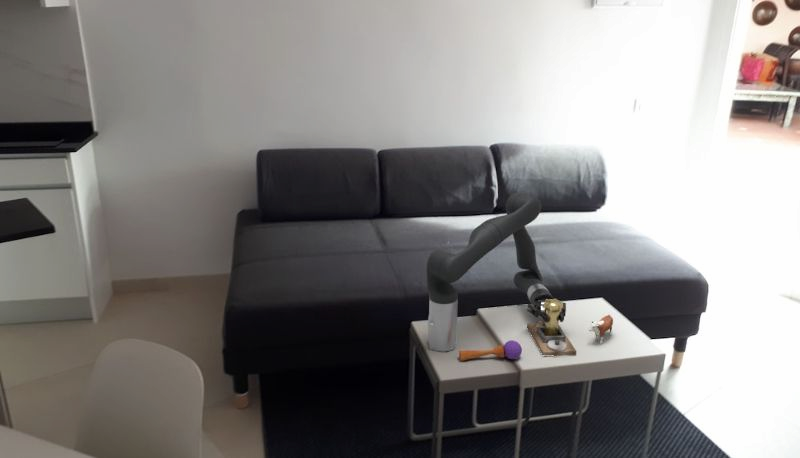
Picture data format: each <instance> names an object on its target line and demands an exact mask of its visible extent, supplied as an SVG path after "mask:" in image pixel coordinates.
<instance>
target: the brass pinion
mask: <svg viewBox="0 0 800 458" xmlns="http://www.w3.org/2000/svg"><path fill="white" fill-rule="evenodd" d="M563 303H564V301H560V300H558V299H557V298H554V299H545V302H544V304H543V308H544V309H546V314H547V315H548V316H549V322H547V323H546V322H545V329H544V335H545V336H557V334H558V324H559V322H560V321H559V312H561V308H563Z"/></svg>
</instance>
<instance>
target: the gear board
mask: <svg viewBox="0 0 800 458" xmlns="http://www.w3.org/2000/svg"><path fill="white" fill-rule="evenodd" d="M527 328H528V329H527ZM526 329H527V330H529V331H530V333H531V334H530V333H529V334H530V336H531V335H532V336H531V338H532V337H533V338H532V339H534V340H535V342H536V343H535V342H534V343H535V345H536V344H537V345H536V347H537V346H538V347H537V348H539V349H540V350H539V349H538V350H539V352H540V351H541V352H540V354H541V353H542V354H541V356H542V355H554V356H553V357H558V356H557V355H569V356H577V350H576V348H575V347H574V345H573V344H572V342H571V341H570V339H569V338H568V336H567V334H566V333H565V332H564V330H563V329H562V327H561V326H560V325H559V323H558V334H557V336H545V335H544V329H545V321H543V320H540V321H537V322H536V323H526ZM529 331H528V332H529ZM534 340H533V341H534Z"/></svg>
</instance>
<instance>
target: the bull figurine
mask: <svg viewBox="0 0 800 458" xmlns="http://www.w3.org/2000/svg"><path fill="white" fill-rule="evenodd" d="M613 325H614V318H613V317H612V316H611V314H608V315H605V316H603V317H602V318H601V319H600V320H598V321H591V324H590V327H588V330H589V332H593V333H595V338H594V341H598V340H599V343H598V344H599V345H602V344H603V339H604V336H605V333H606V332H608V331H609V333H608V336H609V337H610V336H612V330H613ZM599 337H600V339H599Z"/></svg>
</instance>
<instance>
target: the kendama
mask: <svg viewBox="0 0 800 458" xmlns="http://www.w3.org/2000/svg"><path fill="white" fill-rule="evenodd" d="M522 351H523V349H522V346H521V344H520V343H519V342H518V341H516V340H508V341H506V342H505V343H504V344H500V345H497V347H494V348H493V349H491V350H486V349H485V350H483V349H482V350H459V353H458V354H459V359H460V362H463V361H467V360H472V359H475V358H480V357H485V356H489V355H495V356H497V357H499V358H504V357H505V358H507V359H508V360H516V359H518V358H520V356H521V355H522ZM515 358H516V359H515Z"/></svg>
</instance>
